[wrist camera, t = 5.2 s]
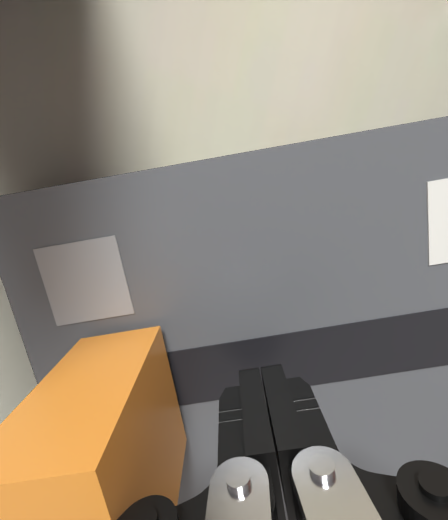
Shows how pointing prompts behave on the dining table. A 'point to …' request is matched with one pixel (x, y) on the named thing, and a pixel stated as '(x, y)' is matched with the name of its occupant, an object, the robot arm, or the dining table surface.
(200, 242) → the panel
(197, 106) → the dining table surface
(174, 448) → the knob
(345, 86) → the dining table surface
